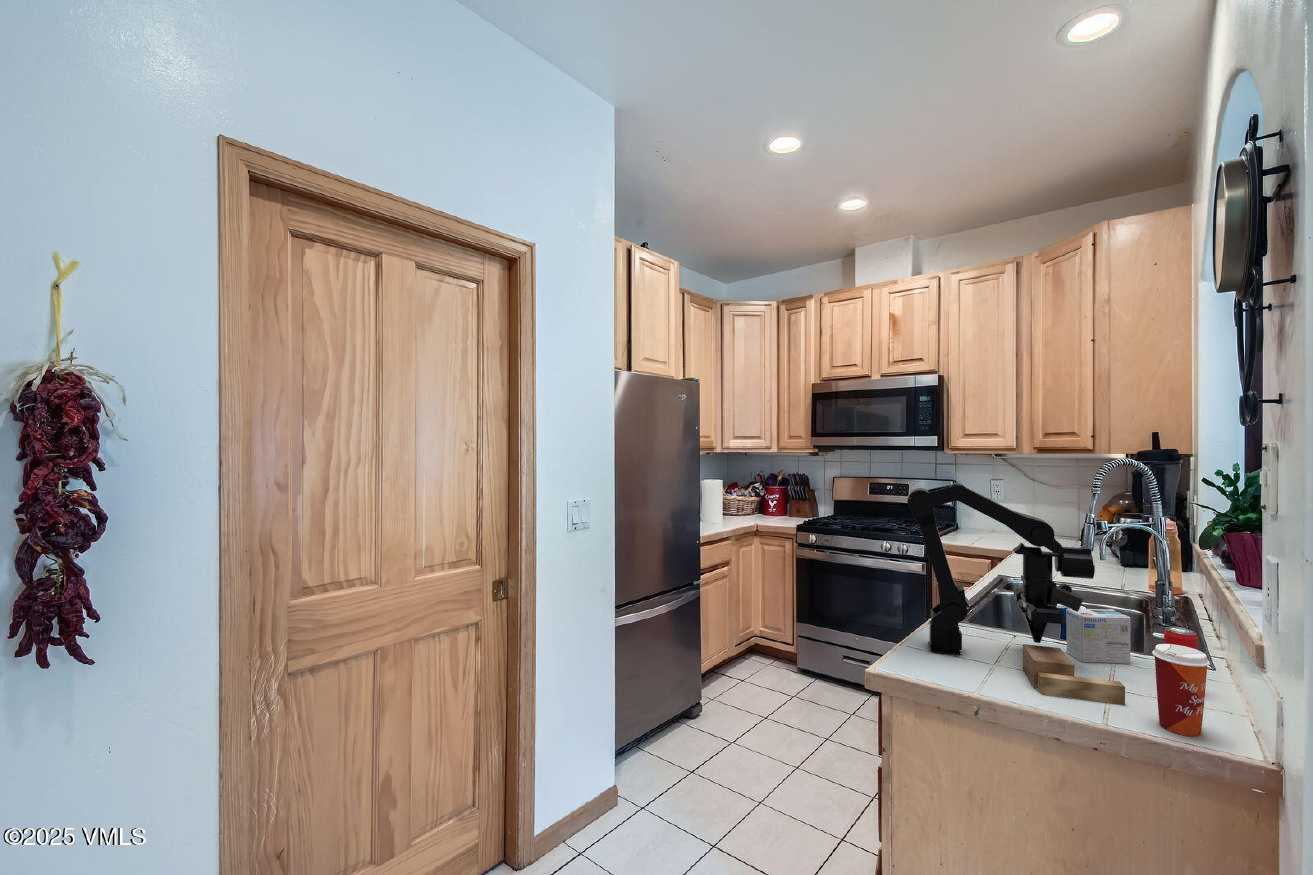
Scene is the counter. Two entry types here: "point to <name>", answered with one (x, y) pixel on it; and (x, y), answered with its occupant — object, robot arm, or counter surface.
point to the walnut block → (1045, 662)
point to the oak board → (1081, 688)
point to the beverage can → (1181, 637)
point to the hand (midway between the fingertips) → (1037, 642)
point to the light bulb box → (1098, 635)
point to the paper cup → (1180, 688)
